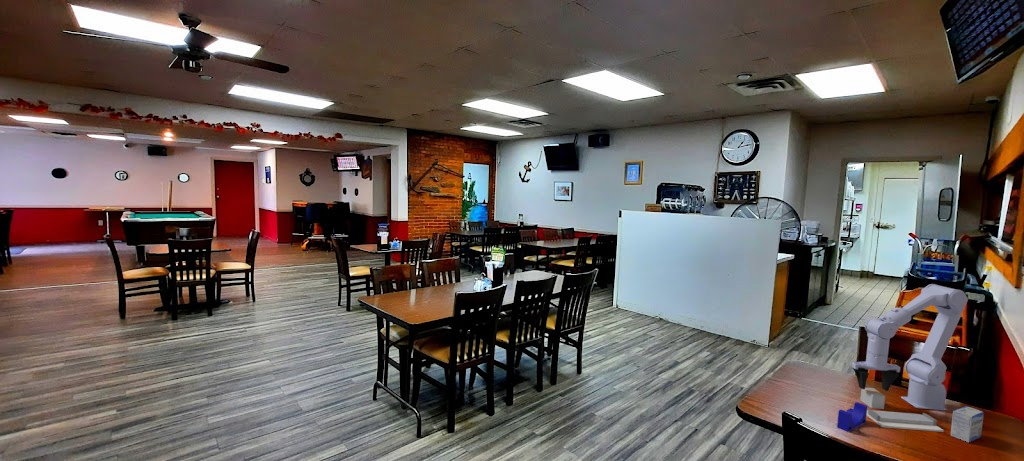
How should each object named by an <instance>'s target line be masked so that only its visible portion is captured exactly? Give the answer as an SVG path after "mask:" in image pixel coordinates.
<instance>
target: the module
mask: <svg viewBox="0 0 1024 461" xmlns="http://www.w3.org/2000/svg"><path fill="white" fill-rule="evenodd" d="M860 389H861V388H860ZM859 400H860V401H861V402H863V403H864V405H866V406H867V407H869V408H870V409H877V410H884V409H885V404H886V403H885V400H886V395H885V394H883V393H882V392H880V391H879V390H877V389H876V388H874V387H865V389H861V390H860V398H859Z"/></svg>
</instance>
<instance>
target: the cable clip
mask: <svg viewBox="0 0 1024 461" xmlns="http://www.w3.org/2000/svg"><path fill="white" fill-rule="evenodd" d="M867 410H868V405H866V404H863V403H861V402H858V401H857V402H856V401H855V402H854V405H853V408H849V409H846V410H843V409H840V410H838V414H837V423H836V428H837V429H839V430H841V431H844V432H846V433H849V432H851V431H852V430H855V429H856V428H858V427H860V426H862V425H864V424H866V423H867Z"/></svg>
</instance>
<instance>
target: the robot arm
mask: <svg viewBox="0 0 1024 461" xmlns="http://www.w3.org/2000/svg"><path fill="white" fill-rule="evenodd" d="M968 300H969V298H968V297H967V295H966V293H965V292H964V290H961V289H955V288H951V287H947V286H943V285H938V284H937V283H936V284H935V283H931V284H928V285H927V286H924V287H923V288H922V289H921V291H920V294H919V295H917V296H916V297H914V298H913V299H912V300H911V301H909V302H908V303H907V304H905V305H904V306H902V307H893V308H891V309H890V310H889V311H888V312H886V313H885V314H883V315H881V316H879V317H878V318H872V319H869V320H868V321H867V322H866V324H865V325H864V330H865V331H866V333H867V335H866V336H867V346H866V347H867V348H866V355H865V356H866V357H865V358H866V359H865V361H852V362H851V368H852V370H853V371H854V373H855V376H856V379H857V384H858V387H859V388H860V389H865V388H866V385H867V379H868V377H869V375H870V373H869V372H867V370H870V371H871V370H872V371H881V378H882V379H881V389H883V390H884V391H885V392H888V391H889V390H890V387H891V386H892V384H893V382H894V381H895V380H896V379H897V378H899V373H900V372H901V366H899V365H897V364H891V363H888V356H889V347H890V339H891V338H893V337H894V336H895V335H896V332H898V331H899V329H900V328H902V327H903V326H904V325H906V324H908V323H909V322H910V321H911V320H912V316H913V315H916V314H917V313H920V312H921V311H923V310H925V309H927V308H929V307H931V306H933V307H934V308H935V309H936V311H937V312H938V314H937V315H936V318H935V320H934V322H933V323H932V324H933V325H932V327H931V329H930V331H929V333H928V336H927V337H926V340H925V342H924V344H923V346H922V348H921V351H920V352H916V353H912V354H911V356H910V357H909V359H908V360H907V361H906V362H905V364H904V370H905V372H906V373H907V376H908V377H909V381H908V391H907V396H900V398H901V399H902V400H903V401H905V402H906V403H908V404H910V405H912V406H913V407H914V408H915V409H916V408H917V409H922V410H923V409H925V410H937V411H947V408H945V406H946V398H947V389H946V387H945V385H944V384H943V382H944V381H945V380H946V370H947V369H948V368H947V366H946V364H945V363H944V361H942V358H943V356H944V353H945V352H946V349H947V347H948V344H949V343H950V340H951V338H952V336H953V334H954V332H955V330H956V328H957V325H958V323H959V321H960V319H961V316H962V314H963V311H964V310H965V307H966V305H967V303H968Z"/></svg>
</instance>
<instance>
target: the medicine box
mask: <svg viewBox="0 0 1024 461" xmlns="http://www.w3.org/2000/svg"><path fill="white" fill-rule="evenodd" d="M984 415H985V414H984V411H982V410H979V409H977V408H973V407H969V406H966V405H965V406H963V407H960V408H957V409H956V410H952V419H951V426H950V427H951V428H950V436H951V437H952V438H955V439H958V440H960V439H961V441H963V442H965V441H966V443H968V444H970V443H972V442H973V441H976V440H977V439H980V438H981V437H982V430H983V424H984V423H983V422H984V421H983V420H984ZM971 441H972V442H971ZM969 442H970V443H969Z"/></svg>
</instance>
